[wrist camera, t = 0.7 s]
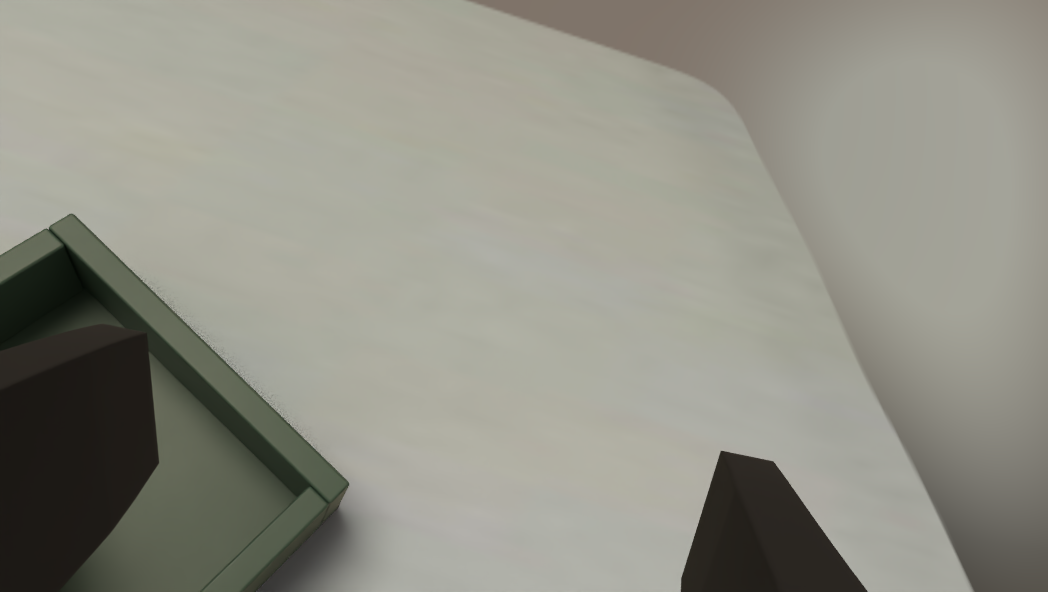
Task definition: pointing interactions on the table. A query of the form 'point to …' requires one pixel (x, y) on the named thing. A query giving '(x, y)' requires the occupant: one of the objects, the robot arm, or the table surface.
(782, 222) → the table surface
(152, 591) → the basket
